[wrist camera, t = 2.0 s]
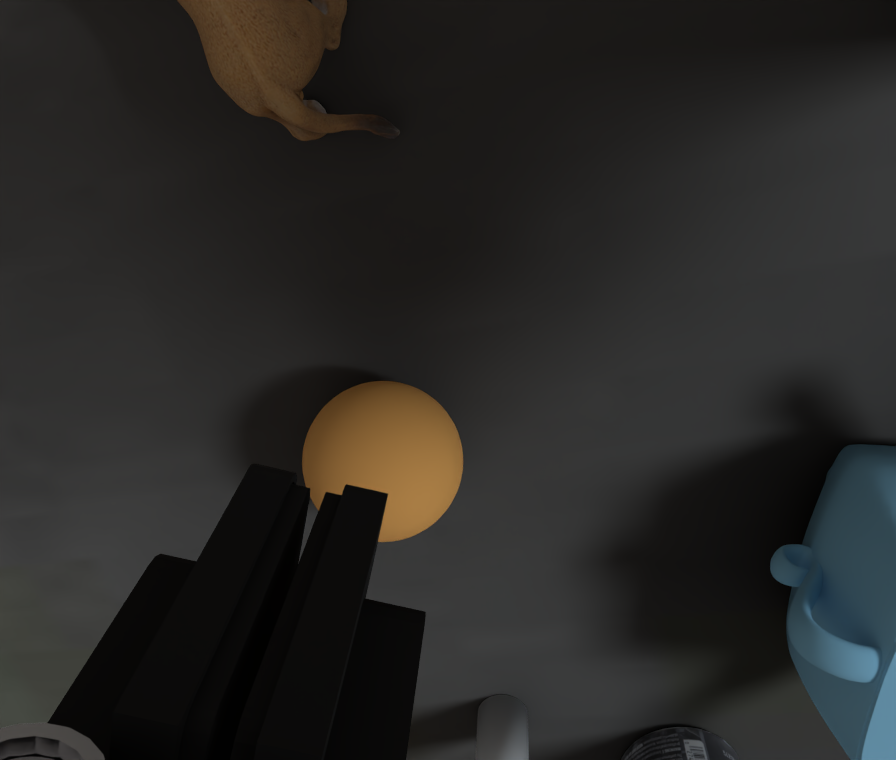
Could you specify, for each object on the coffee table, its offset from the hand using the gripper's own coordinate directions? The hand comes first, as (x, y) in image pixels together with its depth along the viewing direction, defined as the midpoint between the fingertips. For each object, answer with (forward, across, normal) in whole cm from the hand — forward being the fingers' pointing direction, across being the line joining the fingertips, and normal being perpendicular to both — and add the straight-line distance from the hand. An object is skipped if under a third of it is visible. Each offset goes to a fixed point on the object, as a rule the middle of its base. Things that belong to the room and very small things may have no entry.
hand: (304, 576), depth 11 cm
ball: (+19, 0, +10) cm, 21 cm away
